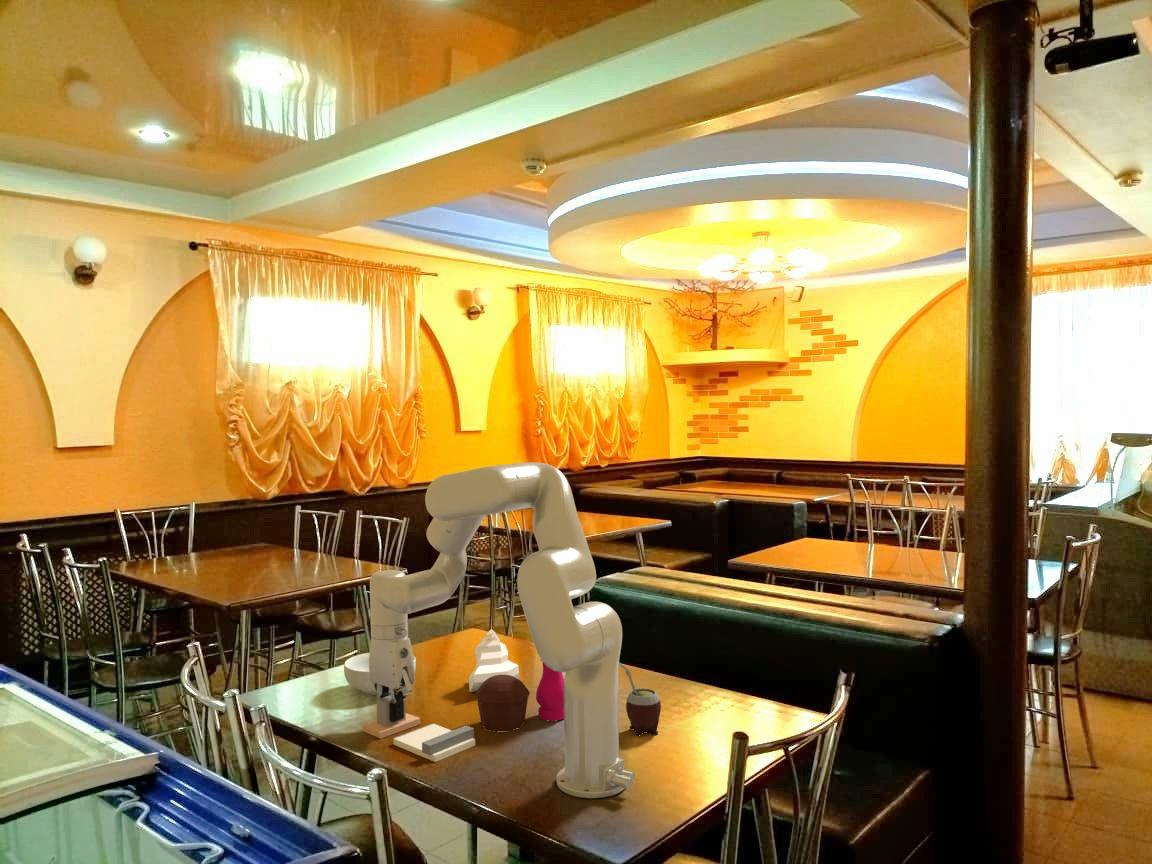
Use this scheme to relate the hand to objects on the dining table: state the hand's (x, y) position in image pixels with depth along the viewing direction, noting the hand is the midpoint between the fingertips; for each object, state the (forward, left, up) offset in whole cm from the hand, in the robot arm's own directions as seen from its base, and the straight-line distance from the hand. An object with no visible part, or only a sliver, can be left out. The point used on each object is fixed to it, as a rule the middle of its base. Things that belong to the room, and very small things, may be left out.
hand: (391, 717), depth 170 cm
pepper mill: (-22, -26, -2) cm, 34 cm away
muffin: (-17, -16, -3) cm, 23 cm away
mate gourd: (-42, -31, -3) cm, 52 cm away
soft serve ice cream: (+3, -31, -3) cm, 31 cm away
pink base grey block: (0, 0, -2) cm, 2 cm away
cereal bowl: (+22, -13, -3) cm, 26 cm away
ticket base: (-14, 0, -2) cm, 14 cm away
